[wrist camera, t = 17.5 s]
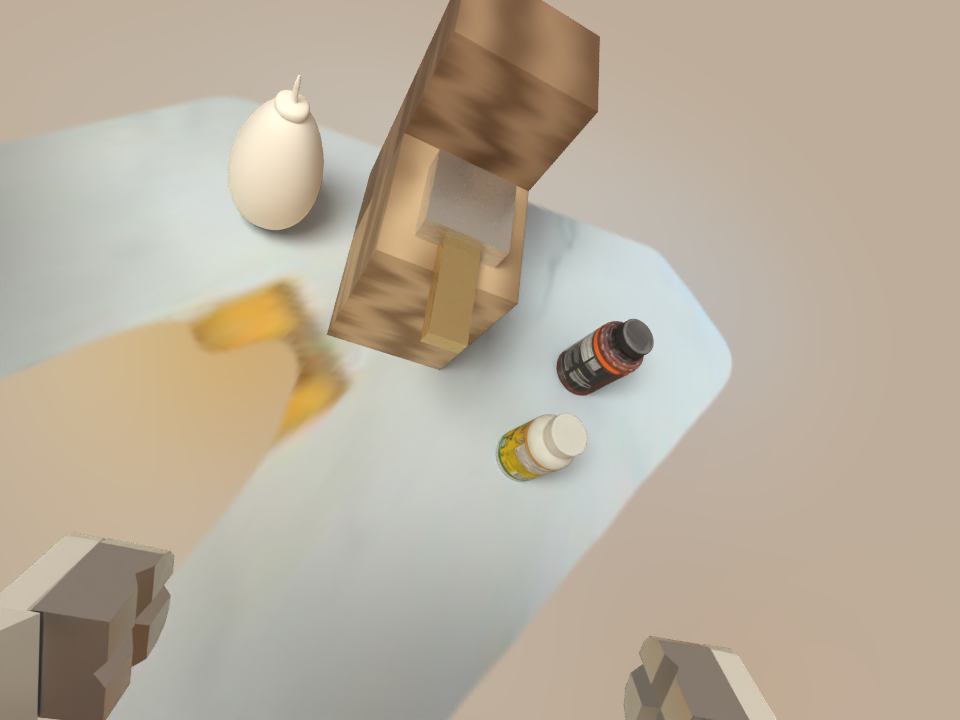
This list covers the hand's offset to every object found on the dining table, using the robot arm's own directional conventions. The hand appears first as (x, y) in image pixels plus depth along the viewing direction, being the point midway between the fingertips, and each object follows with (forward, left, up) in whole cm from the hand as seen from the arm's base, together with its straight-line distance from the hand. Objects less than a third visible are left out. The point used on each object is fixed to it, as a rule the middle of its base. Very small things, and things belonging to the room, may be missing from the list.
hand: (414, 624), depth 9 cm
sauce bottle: (-7, +35, -40) cm, 54 cm away
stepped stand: (+8, +35, -40) cm, 53 cm away
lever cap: (+8, +26, -24) cm, 36 cm away
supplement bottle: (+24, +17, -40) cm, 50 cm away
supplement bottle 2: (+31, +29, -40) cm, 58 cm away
